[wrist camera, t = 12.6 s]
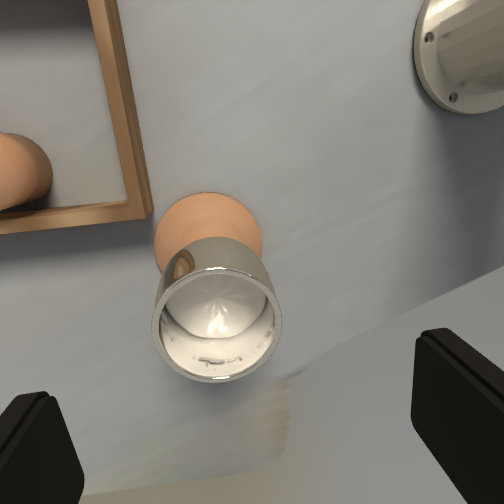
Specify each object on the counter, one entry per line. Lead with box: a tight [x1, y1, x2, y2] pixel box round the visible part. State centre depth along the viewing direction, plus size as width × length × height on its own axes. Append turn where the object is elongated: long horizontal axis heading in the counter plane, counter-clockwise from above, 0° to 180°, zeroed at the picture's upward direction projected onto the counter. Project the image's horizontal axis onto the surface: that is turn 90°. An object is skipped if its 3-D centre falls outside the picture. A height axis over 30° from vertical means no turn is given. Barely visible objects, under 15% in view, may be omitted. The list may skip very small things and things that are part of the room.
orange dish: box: [154, 192, 262, 273], centre depth 31 cm, size 10×10×1 cm
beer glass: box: [151, 214, 282, 383], centre depth 23 cm, size 7×7×15 cm
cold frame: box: [0, 0, 154, 234], centre depth 24 cm, size 17×18×4 cm
